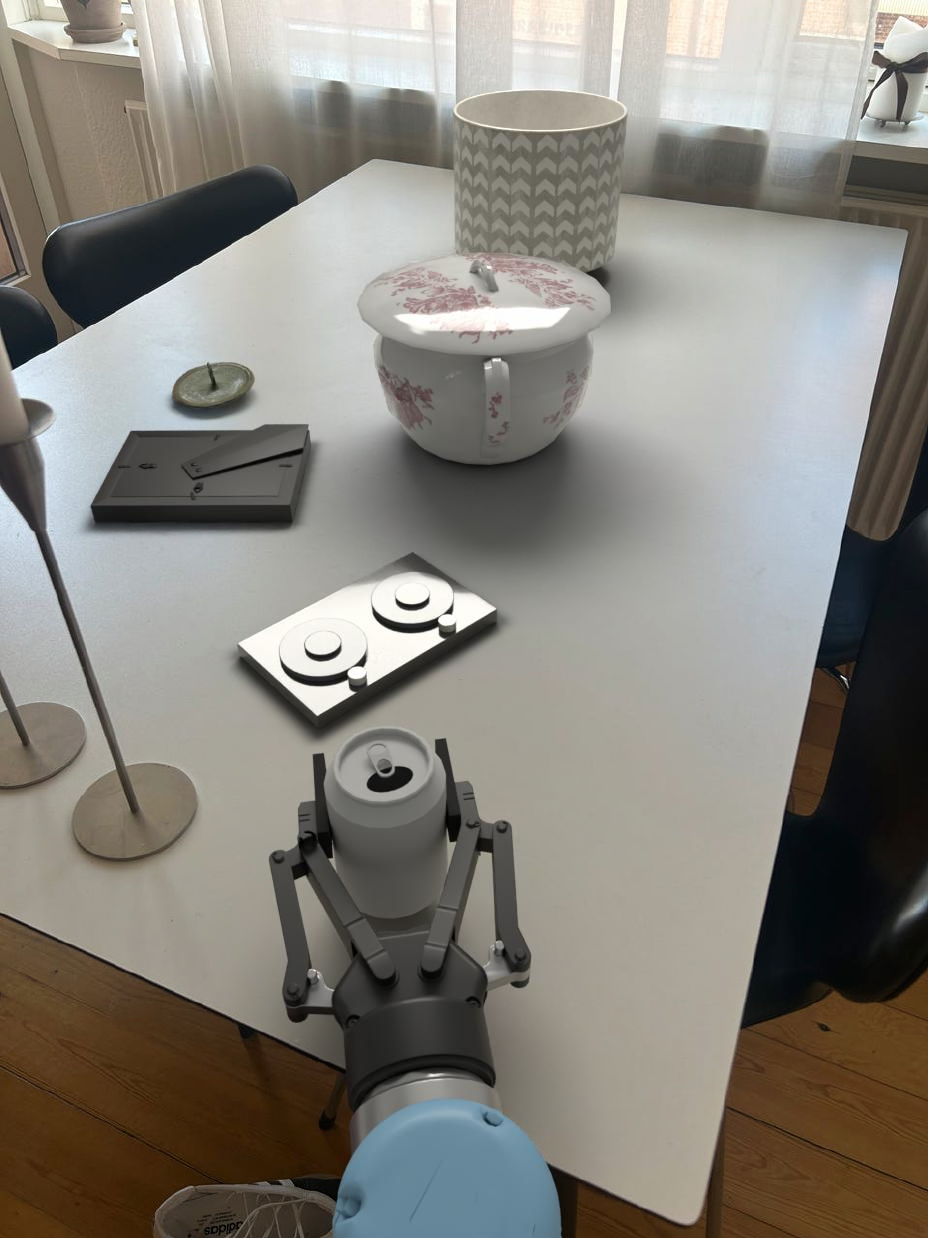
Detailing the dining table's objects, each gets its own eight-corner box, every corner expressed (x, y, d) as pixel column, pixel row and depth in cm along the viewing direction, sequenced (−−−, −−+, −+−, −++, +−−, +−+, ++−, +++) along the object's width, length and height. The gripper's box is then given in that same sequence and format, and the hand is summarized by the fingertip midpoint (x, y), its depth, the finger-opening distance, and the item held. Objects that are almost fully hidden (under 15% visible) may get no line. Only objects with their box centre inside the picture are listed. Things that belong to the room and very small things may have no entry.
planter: (629, 256, 159) (645, 95, 144) (588, 313, 142) (602, 137, 126) (487, 238, 166) (488, 83, 151) (431, 291, 149) (426, 121, 133)
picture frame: (311, 445, 113) (134, 446, 113) (308, 423, 111) (129, 424, 111) (292, 521, 101) (95, 522, 101) (289, 498, 99) (88, 499, 99)
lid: (269, 395, 126) (267, 356, 124) (234, 412, 117) (231, 371, 115) (196, 390, 128) (192, 351, 126) (156, 406, 119) (151, 365, 117)
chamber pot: (457, 362, 129) (455, 202, 116) (640, 420, 117) (661, 247, 104) (316, 450, 112) (294, 273, 99) (513, 528, 100) (519, 338, 86)
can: (359, 943, 62) (344, 827, 54) (323, 854, 67) (305, 737, 60) (465, 901, 64) (465, 784, 57) (423, 819, 70) (417, 701, 62)
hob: (239, 656, 85) (235, 634, 84) (413, 563, 95) (412, 543, 94) (319, 729, 78) (315, 707, 77) (497, 621, 89) (497, 600, 87)
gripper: (228, 1168, 49) (236, 814, 66) (614, 1102, 52) (526, 777, 69) (202, 1104, 44) (218, 739, 62) (629, 1034, 47) (530, 703, 64)
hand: (380, 759), depth 65 cm, fingers closed on can, 7 cm apart
